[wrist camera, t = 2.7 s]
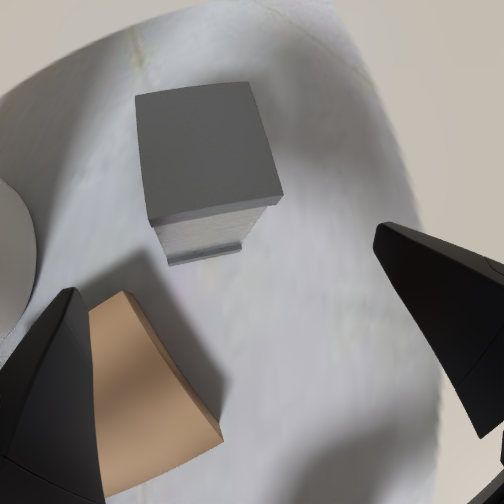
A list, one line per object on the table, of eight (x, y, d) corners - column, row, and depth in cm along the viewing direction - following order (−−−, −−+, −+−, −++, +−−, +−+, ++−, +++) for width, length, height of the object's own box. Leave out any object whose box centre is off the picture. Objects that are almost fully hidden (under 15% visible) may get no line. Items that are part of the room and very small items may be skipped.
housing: (239, 251, 20) (283, 194, 10) (169, 266, 19) (148, 219, 9) (222, 179, 21) (248, 81, 11) (155, 190, 20) (134, 95, 10)
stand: (219, 424, 18) (224, 441, 15) (103, 481, 15) (93, 502, 12) (132, 294, 18) (122, 290, 15) (22, 363, 16) (1, 368, 13)
